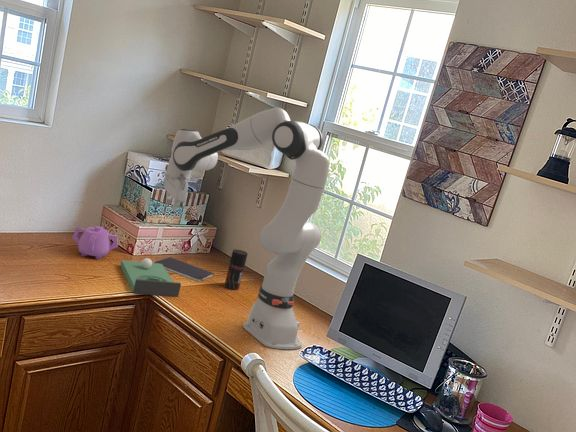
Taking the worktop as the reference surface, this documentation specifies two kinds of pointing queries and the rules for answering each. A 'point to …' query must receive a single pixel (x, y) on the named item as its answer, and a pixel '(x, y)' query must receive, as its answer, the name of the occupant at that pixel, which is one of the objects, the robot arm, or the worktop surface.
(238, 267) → the deodorant
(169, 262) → the notebook
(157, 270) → the green
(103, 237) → the pot
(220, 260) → the worktop surface
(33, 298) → the worktop surface
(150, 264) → the ball
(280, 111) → the robot arm
